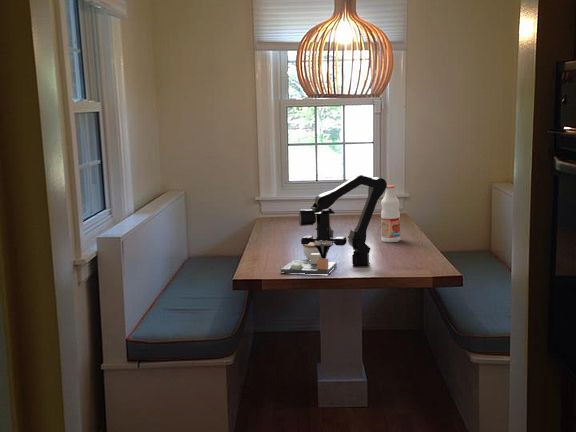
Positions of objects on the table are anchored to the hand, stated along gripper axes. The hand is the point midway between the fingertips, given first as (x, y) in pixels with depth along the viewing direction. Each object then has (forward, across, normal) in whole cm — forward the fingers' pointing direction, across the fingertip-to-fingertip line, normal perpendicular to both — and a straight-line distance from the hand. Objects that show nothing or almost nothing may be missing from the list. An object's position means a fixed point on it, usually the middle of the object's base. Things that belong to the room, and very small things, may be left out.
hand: (324, 260), depth 292 cm
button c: (+3, +10, +9) cm, 14 cm away
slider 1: (+1, +4, 0) cm, 4 cm away
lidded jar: (+4, +9, -15) cm, 18 cm away
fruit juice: (+4, -18, -62) cm, 65 cm away
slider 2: (+1, -2, +9) cm, 9 cm away
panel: (+4, +6, +4) cm, 8 cm away
